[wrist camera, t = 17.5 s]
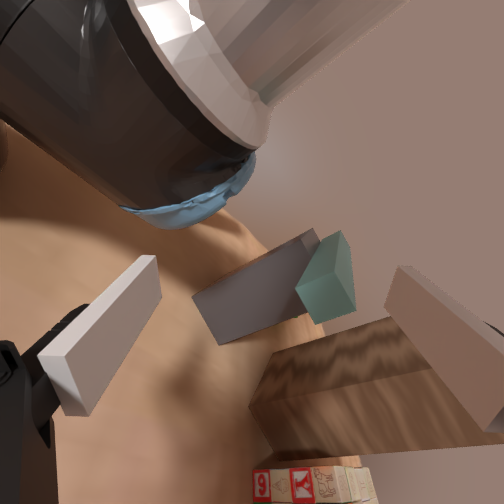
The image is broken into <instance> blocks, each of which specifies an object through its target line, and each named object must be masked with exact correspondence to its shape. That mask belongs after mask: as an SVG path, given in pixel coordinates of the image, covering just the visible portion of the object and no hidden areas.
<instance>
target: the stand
mask: <svg viewBox="0 0 504 504" xmlns="http://www.w3.org/2000/svg"><path fill="white" fill-rule="evenodd" d="M249 408H250V410H251V412H252V414H253V415H254V417H255V419H256V421H257V422H258V424H259V426H260V428H261V429H262V431H263V433H264V435H265V436H266V438H267V440H268V442H269V444H270V445H271V447H272V449H273V451H274V452H275V454H276V456H277V458H278V459H279V461H290V460H303V459H315V458H328V457H341V456H354V455H367V454H378V453H379V454H380V453H392V452H404V451H418V450H430V449H443V448H456V447H467V446H468V447H469V446H481V445H494V444H504V433H495V432H483V431H482V430H481V428H480V427H479V426H478V425H477V423H476V422H475V421H474V419H473V418H472V417H471V416H470V414H469V413H468V412H467V411H466V409H465V408H464V407H463V406H462V404H461V403H460V402H459V401H458V399H457V398H456V397H455V396H454V394H453V393H452V392H451V391H450V389H449V388H448V387H447V386H446V384H445V383H444V382H443V381H442V379H441V378H440V377H439V376H438V374H437V373H436V372H435V371H434V369H433V368H432V367H431V366H430V364H429V363H428V362H427V361H426V359H425V358H424V357H423V356H422V354H421V353H420V352H419V351H418V349H417V348H416V347H415V346H414V344H413V343H412V342H411V341H410V339H409V338H408V337H407V336H406V334H405V333H404V332H403V331H402V329H401V328H400V327H399V326H398V324H397V323H396V322H395V321H394V319H393V318H392V317H391V316H390V317H386V318H383V319H381V320H377V321H374V322H371V323H367V324H364V325H361V326H358V327H355V328H352V329H348V330H345V331H342V332H339V333H336V334H332V335H330V336H326V337H323V338H319V339H316V340H313V341H310V342H307V343H304V344H300V345H297V346H294V347H291V348H288V349H284V350H281V351H278V352H275V353H273V355H272V357H271V359H270V361H269V363H268V365H267V368H266V370H265V372H264V374H263V376H262V379H261V381H260V383H259V385H258V387H257V389H256V392H255V394H254V396H253V398H252V400H251V403H250V405H249Z"/></svg>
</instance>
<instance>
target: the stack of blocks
mask: <svg viewBox="0 0 504 504" xmlns="http://www.w3.org/2000/svg"><path fill="white" fill-rule="evenodd" d="M253 502H254V504H378V500H377V497H376V493H375V490H374V486H373V482H372V478H371V475H370V471H369V468H368V467H358V468H353V467H346V466H337V465H332V466H315V467H296V468H287V469H258V470H253Z"/></svg>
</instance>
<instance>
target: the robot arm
mask: <svg viewBox="0 0 504 504" xmlns="http://www.w3.org/2000/svg"><path fill="white" fill-rule="evenodd" d="M409 1H411V0H0V173H1V171H2V169H3V167H4V165H5V163H6V160H7V156H8V143H7V134H6V126H5V122H6V123H7V124H8V125H10V126H11V127H13V128H14V129H15V130H17V131H18V132H19V133H21V134H22V135H23V136H25V137H26V138H28V139H29V140H30V141H32V142H33V143H34V144H36V145H37V146H38V147H40V148H41V149H43V150H44V151H45V152H47V153H48V154H49V155H51V156H52V157H54V158H55V159H56V160H58V161H59V162H60V163H62V164H63V165H64V166H66V167H67V168H69V169H70V170H71V171H73V172H74V173H75V174H77V175H78V176H79V177H81V178H82V179H84V180H85V181H86V182H88V183H89V184H90V185H92V186H93V187H94V188H96V189H97V190H99V191H100V192H101V193H103V194H104V195H105V196H107V197H108V198H109V199H111V200H112V201H114V202H115V203H116V204H117V205H118V206H119V207H120V208H122V209H123V210H125V211H127V212H130V213H133V214H135V215H136V216H138V217H140V218H141V219H143V220H144V221H146V222H147V223H149V224H151V225H152V226H154V227H157V228H160V229H165V230H176V229H182V228H186V227H189V226H192V225H194V224H197V223H199V222H201V221H203V220H205V219H207V218H208V217H210V216H212V215H213V214H215V213H216V212H217V211H219V210H220V209H221V208H223V207H224V206H225V205H226V201H227V199H228V198H229V197H231V196H235V195H237V194H238V193H239V192H240V191H241V190H242V188H243V187H244V186H245V185H246V183H247V182H248V181H249V179H250V177H251V175H252V173H253V171H254V168H255V163H256V155H255V150H257V149H258V148H259V147H261V146H262V145H263V144H264V143H265V142H266V138H267V134H268V129H269V123H270V118H271V113H272V111H273V109H274V107H275V106H276V105H278V104H279V103H280V102H282V101H283V100H284V99H285V98H287V97H288V96H289V95H290V94H292V93H293V92H294V91H296V90H297V89H298V88H299V87H300V86H302V85H303V84H304V83H306V82H307V81H308V80H310V79H311V78H312V77H314V76H315V75H316V74H317V73H319V72H320V71H321V70H322V69H324V68H325V67H326V66H328V65H329V64H330V63H331V62H333V61H334V60H335V59H337V58H338V57H339V56H340V55H342V54H343V53H344V52H345V51H347V50H348V49H349V48H350V47H352V46H353V45H354V44H356V43H357V42H358V41H359V40H361V39H362V38H363V37H364V36H366V35H367V34H368V33H370V32H371V31H372V30H373V29H375V28H376V27H377V26H379V25H380V24H381V23H382V22H384V21H385V20H386V19H387V18H389V17H390V16H391V15H393V14H394V13H395V12H396V11H398V10H399V9H400V8H401V7H403V6H404V5H405V4H407V3H408V2H409ZM161 299H162V294H161V287H160V280H159V273H158V266H157V259H156V255H141V256H140V257H139V258H138V259H137V260H136V261H135V262H134V263H133V264H132V265H131V266H130V267H129V268H128V269H127V270H125V271H124V272H123V273H122V274H121V275H120V276H119V277H118V278H117V279H116V280H115V281H114V282H113V283H112V284H111V285H110V286H109V287H108V288H107V289H106V290H105V291H104V292H103V293H101V294H100V295H99V296H98V297H97V298H96V299H95V300H94V301H93V302H92V303H91V304H83V305H81V306H79V307H78V308H76V309H74V310H72V311H71V312H69V313H68V314H67V315H66V316H65V317H64V318H63V319H62V320H60V323H57V324H56V325H55V326H54V327H53V328H52V329H51V331H48V332H47V333H46V334H45V335H44V336H43V337H41V338H40V339H39V340H38V341H37V342H36V343H35V344H34V345H33V346H31V347H30V348H29V349H28V350H27V351H26V352H25V353H24V354H22V355H21V356H20V354H19V352H18V350H17V348H16V346H15V344H14V343H13V342H11V341H8V340H3V341H0V504H59V501H58V483H57V465H56V447H55V430H54V421H53V419H52V415H53V413H54V412H55V411H56V409H57V408H58V407H59V405H61V407H62V409H63V411H64V414H65V416H84V417H89V416H90V414H91V412H92V411H93V409H94V407H95V406H96V404H97V403H98V401H99V399H100V398H101V396H102V394H103V393H104V391H105V390H106V388H107V386H108V385H109V383H110V381H111V380H112V378H113V377H114V375H115V373H116V372H117V370H118V368H119V367H120V365H121V364H122V362H123V360H124V359H125V357H126V355H127V354H128V352H129V351H130V349H131V347H132V346H133V344H134V342H135V341H136V339H137V338H138V336H139V334H140V333H141V331H142V329H143V328H144V326H145V325H146V323H147V321H148V320H149V318H150V316H151V315H152V313H153V312H154V310H155V308H156V307H157V305H158V303H159V302H160V300H161ZM384 308H385V309H386V310H387V312H388V313H389V314H390V315H391V317H392V318H393V319H394V321H395V322H396V323H397V324H398V326H399V327H400V328H401V329H402V331H403V332H404V333H405V334H406V336H407V337H408V338H409V339H410V341H411V342H412V343H413V344H414V346H415V347H416V348H417V349H418V351H419V352H420V353H421V354H422V356H423V357H424V358H425V359H426V361H427V362H428V363H429V364H430V366H431V367H432V368H433V369H434V371H435V372H436V373H437V374H438V376H439V377H440V378H441V379H442V381H443V382H444V383H445V384H446V386H447V387H448V388H449V389H450V391H451V392H452V393H453V394H454V396H455V397H456V398H457V399H458V401H459V402H460V403H461V404H462V406H463V407H464V408H465V409H466V411H467V412H468V413H469V414H470V416H471V417H472V418H473V419H474V421H475V422H476V423H477V425H478V426H479V427H480V428H481V430H482V431H483V432H495V433H504V334H503V333H502V332H500V331H499V330H498V329H497V328H495V327H493V326H491V325H489V324H488V323H486V322H484V321H482V320H481V319H479V318H478V317H477V316H476V315H474V314H473V313H471V312H470V311H469V310H468V309H466V308H465V307H464V306H463V305H461V304H460V303H458V302H457V301H456V300H455V299H453V298H452V297H451V296H450V295H448V294H447V293H446V292H444V291H443V290H441V289H440V288H439V287H438V286H436V285H435V284H434V283H433V282H431V281H430V280H429V279H427V278H426V277H425V276H424V275H422V274H421V273H420V272H418V271H417V270H416V269H414V268H413V267H411V266H397V269H396V272H395V275H394V278H393V281H392V284H391V286H390V289H389V292H388V296H387V298H386V301H385V304H384Z"/></svg>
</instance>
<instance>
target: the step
mask: <svg viewBox="0 0 504 504" xmlns="http://www.w3.org/2000/svg"><path fill="white" fill-rule="evenodd" d="M320 243H321V242H320V240H319V239H318V237H317V235H316V233H315V231H314V230H313V228H312V229H310V230H308V231H306V232H304V233H302V234H300V235H299V236H297V237H295V238H293V239H291V240H289V241H288V242H286V243H284V244H282V245H280V246H278V247H276V248H274V249H273V250H271V251H269V252H267V253H265V254H263V255H261V256H260V257H258V258H256V259H254V260H252V261H250V262H248V263H247V264H245V265H243V266H241V267H239V268H237V269H235V270H234V271H232V272H230V273H228V274H226V275H225V276H223V277H221V278H220V279H218V280H217V281H215V282H214V283H212V284H211V285H209V286H208V287H206V288H204V289H203V290H201V291H200V292H198V293H197V294H195V295H194V296H192V299H193V301H194V302H195V304H196V306H197V308H198V309H199V311H200V313H201V315H202V317H203V318H204V320H205V322H206V324H207V325H208V327H209V329H210V331H211V332H212V334H213V336H214V338H215V339H216V341H217V343H218V345H221V344H224V343H227V342H229V341H232V340H235V339H237V338H240V337H243V336H245V335H248V334H251V333H254V332H256V331H259V330H262V329H264V328H267V327H270V326H272V325H275V324H278V323H280V322H283V321H286V320H288V319H291V318H294V317H296V316H299V315H302V314H304V313H307V312H308V311H307V309H306V307H305V306H304V304H303V302H302V300H301V298H300V297H299V295H298V293H297V291H296V289H295V287H296V286H297V284H298V282H299V280H300V278H301V277H302V275H303V273H304V271H305V270H306V268H307V266H308V264H309V262H310V261H311V259H312V257H313V255H314V253H315V252H316V250H317V248H318V246H319V245H320Z"/></svg>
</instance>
